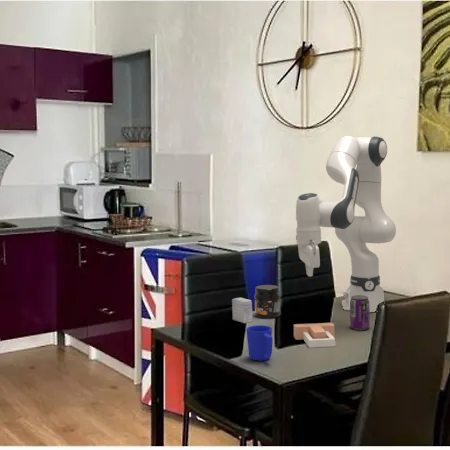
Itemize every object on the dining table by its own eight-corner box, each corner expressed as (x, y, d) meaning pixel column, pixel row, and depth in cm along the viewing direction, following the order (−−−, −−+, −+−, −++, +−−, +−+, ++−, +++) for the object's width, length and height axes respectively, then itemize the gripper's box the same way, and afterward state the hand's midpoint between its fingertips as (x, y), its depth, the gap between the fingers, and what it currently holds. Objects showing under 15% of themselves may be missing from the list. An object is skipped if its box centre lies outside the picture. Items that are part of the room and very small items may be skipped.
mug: (259, 367, 202) (258, 336, 201) (242, 357, 213) (242, 327, 212) (282, 363, 205) (282, 332, 204) (265, 353, 216) (264, 324, 215)
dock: (303, 339, 232) (303, 332, 232) (328, 337, 233) (328, 331, 232) (309, 347, 221) (309, 340, 221) (335, 346, 222) (335, 339, 222)
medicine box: (252, 321, 259) (252, 300, 258) (243, 323, 256) (243, 302, 255) (241, 318, 265) (240, 297, 264) (232, 319, 263) (231, 298, 262)
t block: (293, 336, 236) (293, 324, 235) (332, 334, 237) (331, 322, 236) (300, 346, 224) (299, 333, 223) (340, 344, 225) (340, 331, 224)
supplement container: (249, 316, 268) (248, 287, 267) (268, 311, 275) (268, 283, 274) (266, 320, 260) (266, 290, 259) (286, 315, 267) (285, 287, 265)
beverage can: (369, 331, 240) (369, 299, 239) (350, 330, 241) (349, 298, 240) (369, 326, 247) (369, 295, 246) (350, 325, 248) (350, 294, 247)
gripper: (323, 241, 228) (324, 280, 230) (311, 234, 248) (312, 270, 250) (305, 242, 228) (306, 281, 229) (295, 235, 248) (296, 271, 249)
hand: (309, 275), depth 240 cm, fingers closed
